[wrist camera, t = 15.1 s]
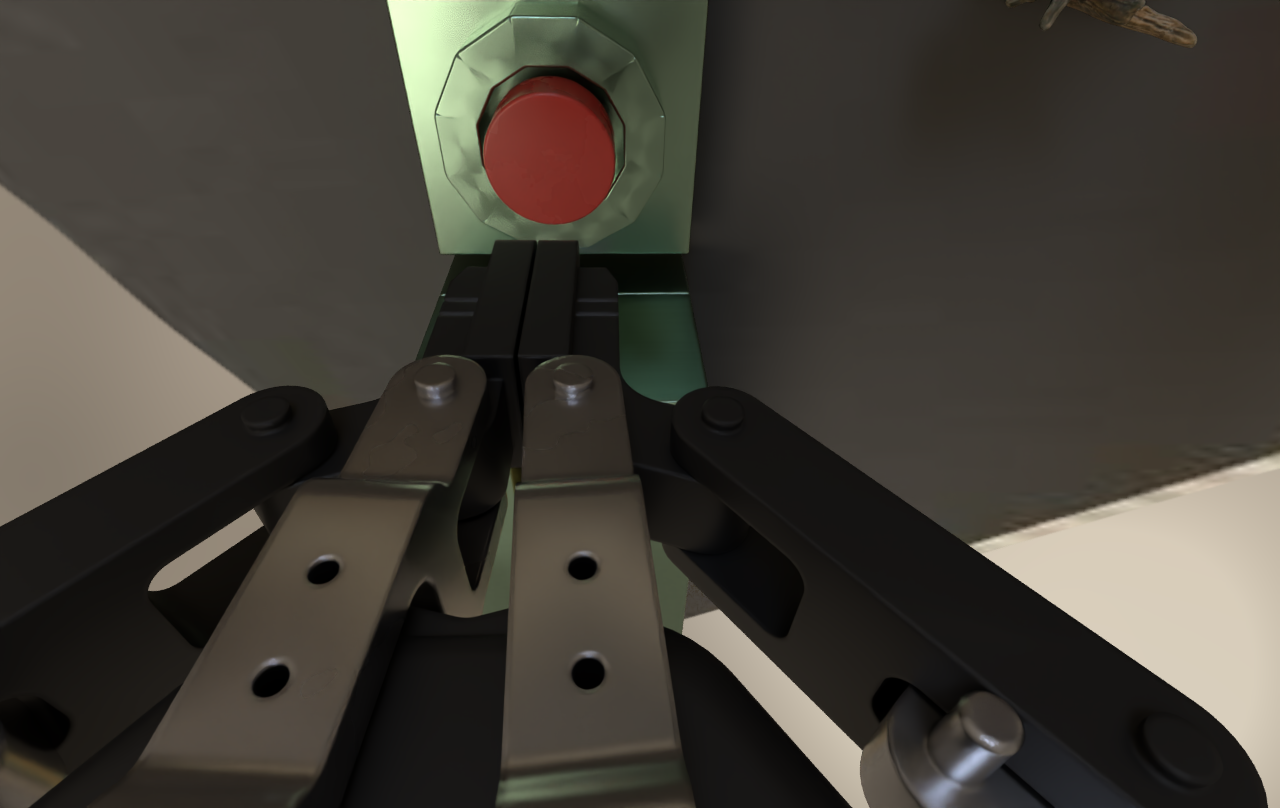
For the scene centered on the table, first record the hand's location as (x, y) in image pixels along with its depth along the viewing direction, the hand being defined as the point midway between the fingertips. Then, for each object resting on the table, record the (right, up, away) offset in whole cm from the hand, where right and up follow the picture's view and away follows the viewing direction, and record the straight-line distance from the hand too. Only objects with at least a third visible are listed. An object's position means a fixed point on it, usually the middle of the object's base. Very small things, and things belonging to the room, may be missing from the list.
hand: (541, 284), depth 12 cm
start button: (-1, +5, +6) cm, 9 cm away
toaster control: (-1, +8, +10) cm, 13 cm away
